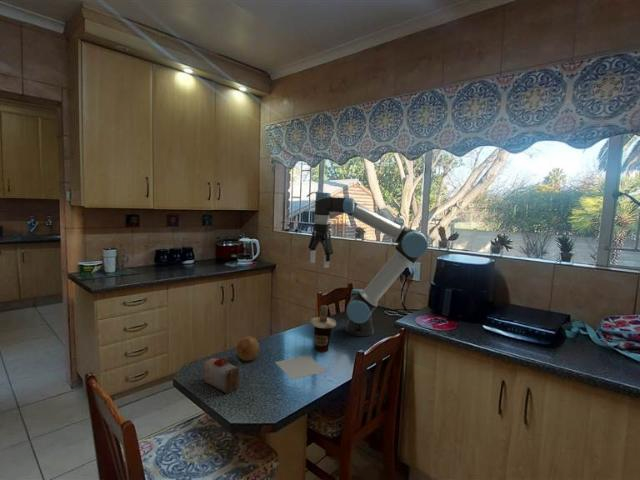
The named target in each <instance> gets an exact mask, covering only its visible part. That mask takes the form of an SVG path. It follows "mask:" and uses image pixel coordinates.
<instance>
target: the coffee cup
mask: <svg viewBox="0 0 640 480" xmlns="http://www.w3.org/2000/svg"><path fill="white" fill-rule="evenodd" d="M313 329H314V334H313V336H314V337H313V338H314V339H313V340H314V350H315V351H316V352H319V353H326V352H328V351H329V346H330V342H331V335H332V330H333V327H332V328H318V327H314V326H313Z"/></svg>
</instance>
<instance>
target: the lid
mask: <svg viewBox="0 0 640 480" xmlns="http://www.w3.org/2000/svg"><path fill="white" fill-rule="evenodd" d="M328 309H329V308H328V305H324V304H323V305H320V314H319V316H314V317H312V318H311V319H310V322H309V323H310V325H311V326H312V327H313V328H314V327H318V328H332V329H333V328H335V327H336V326H337V320H335V319H334V318H332V317H328Z"/></svg>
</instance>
